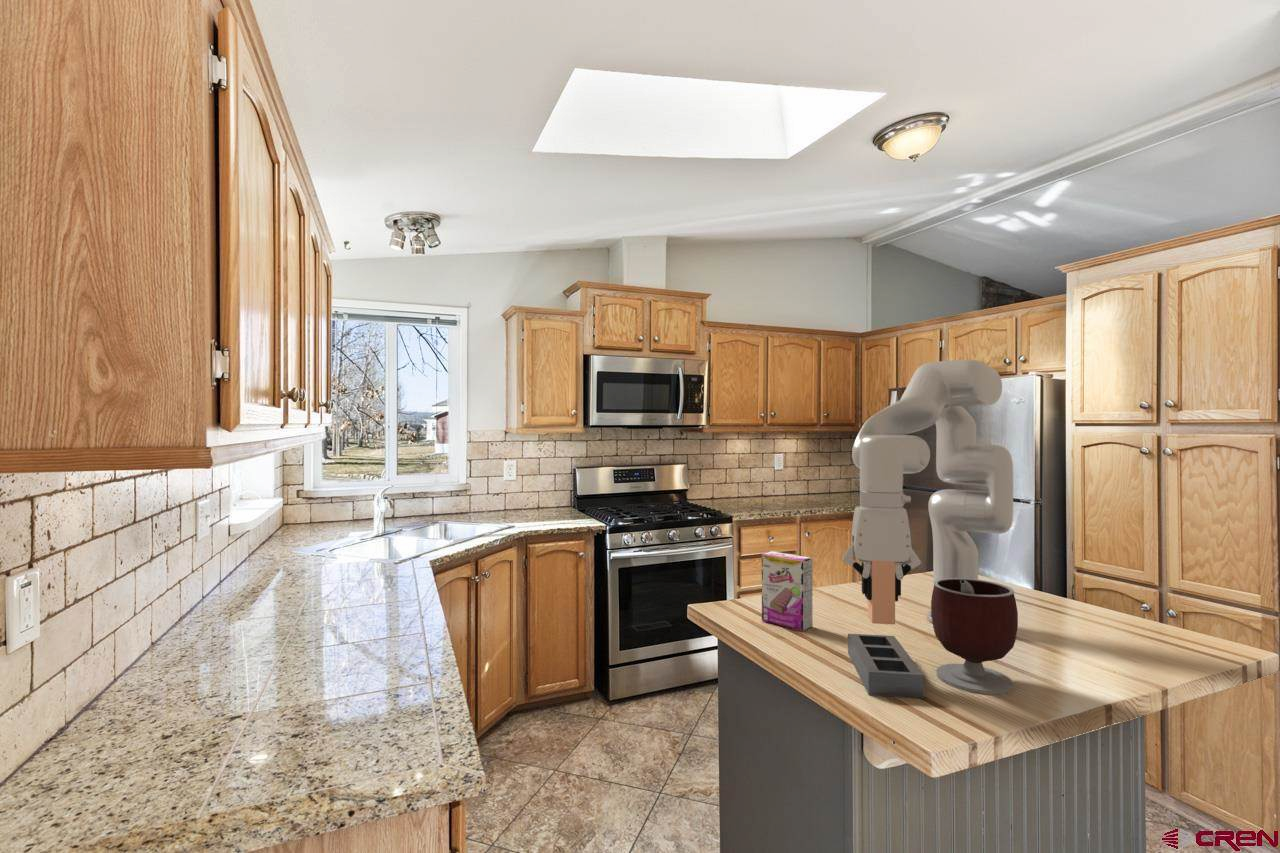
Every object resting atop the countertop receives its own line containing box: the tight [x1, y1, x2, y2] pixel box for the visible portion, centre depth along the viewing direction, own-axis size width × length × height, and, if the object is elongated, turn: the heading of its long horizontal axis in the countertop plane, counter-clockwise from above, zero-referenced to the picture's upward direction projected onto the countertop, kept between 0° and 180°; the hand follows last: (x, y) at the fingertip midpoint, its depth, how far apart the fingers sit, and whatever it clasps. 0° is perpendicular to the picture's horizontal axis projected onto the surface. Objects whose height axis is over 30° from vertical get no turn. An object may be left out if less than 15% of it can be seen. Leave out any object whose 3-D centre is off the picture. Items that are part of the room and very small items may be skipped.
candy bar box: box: [761, 550, 813, 632], centre depth 142 cm, size 11×5×16 cm, turn 47°
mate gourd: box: [930, 578, 1019, 696], centre depth 109 cm, size 16×14×20 cm
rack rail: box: [847, 633, 925, 700], centre depth 112 cm, size 9×20×4 cm, turn 171°
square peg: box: [867, 560, 896, 625], centre depth 112 cm, size 4×4×13 cm
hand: (881, 597), depth 112 cm, fingers closed on square peg, 4 cm apart
